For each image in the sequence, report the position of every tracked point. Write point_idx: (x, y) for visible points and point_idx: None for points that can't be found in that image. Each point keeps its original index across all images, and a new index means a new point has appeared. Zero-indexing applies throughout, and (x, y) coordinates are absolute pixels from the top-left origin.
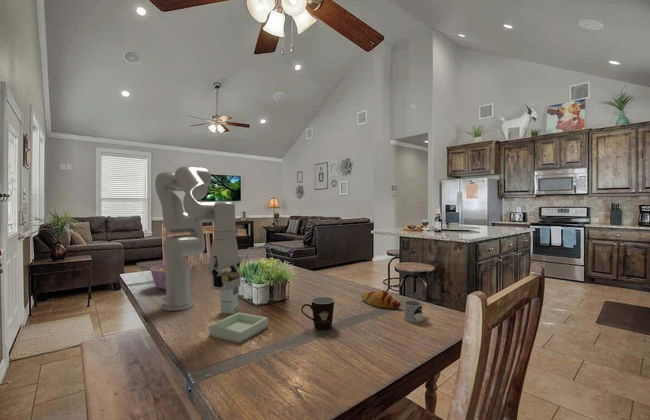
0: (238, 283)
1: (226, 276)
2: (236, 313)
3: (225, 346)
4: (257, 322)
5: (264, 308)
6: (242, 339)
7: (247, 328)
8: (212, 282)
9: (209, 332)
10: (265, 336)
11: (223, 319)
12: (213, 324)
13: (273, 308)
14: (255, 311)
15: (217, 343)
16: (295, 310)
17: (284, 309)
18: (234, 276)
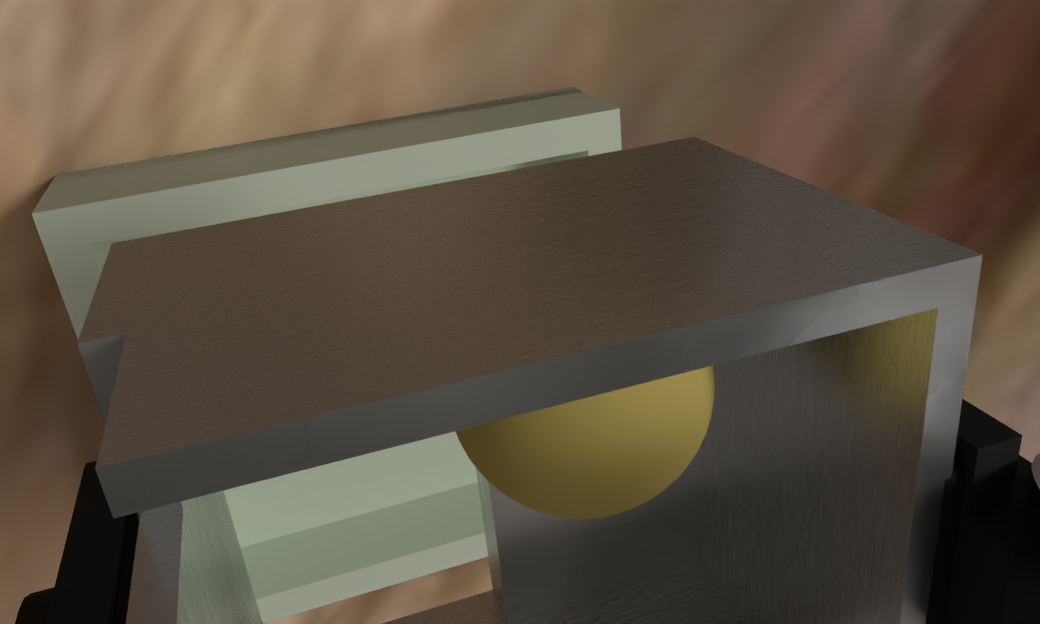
0: (677, 606)
1: (664, 481)
2: (573, 127)
3: (37, 529)
4: (485, 542)
5: (1008, 20)
6: None
7: (307, 601)
8: (107, 380)
9: (47, 191)
10: (431, 590)
11: (319, 169)
12: (105, 219)
13: (1029, 113)
14: (898, 4)
15: (13, 420)
16: (1025, 335)
17: (1027, 233)
18: (803, 573)
